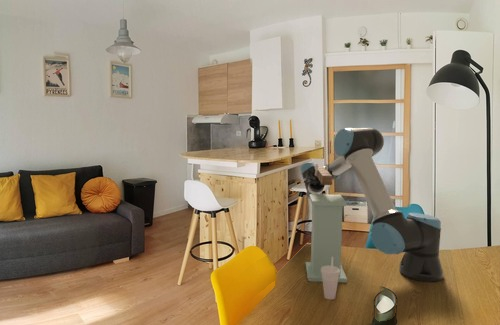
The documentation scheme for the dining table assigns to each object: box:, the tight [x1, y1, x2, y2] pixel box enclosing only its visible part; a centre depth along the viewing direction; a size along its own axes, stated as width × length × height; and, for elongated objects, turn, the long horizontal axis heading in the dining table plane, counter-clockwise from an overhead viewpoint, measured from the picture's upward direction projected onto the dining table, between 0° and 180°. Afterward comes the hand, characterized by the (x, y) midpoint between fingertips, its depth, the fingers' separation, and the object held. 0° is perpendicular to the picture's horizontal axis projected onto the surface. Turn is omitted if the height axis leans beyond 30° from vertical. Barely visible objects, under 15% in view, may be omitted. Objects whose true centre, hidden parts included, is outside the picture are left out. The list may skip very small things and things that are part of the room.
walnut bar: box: [316, 167, 333, 186], centre depth 141 cm, size 26×4×4 cm, turn 175°
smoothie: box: [321, 257, 340, 300], centre depth 115 cm, size 6×6×14 cm
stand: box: [305, 193, 348, 284], centre depth 131 cm, size 14×14×30 cm
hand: (321, 167), depth 145 cm, fingers closed on walnut bar, 3 cm apart
